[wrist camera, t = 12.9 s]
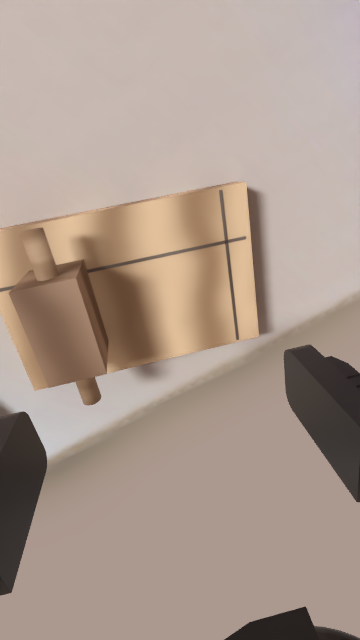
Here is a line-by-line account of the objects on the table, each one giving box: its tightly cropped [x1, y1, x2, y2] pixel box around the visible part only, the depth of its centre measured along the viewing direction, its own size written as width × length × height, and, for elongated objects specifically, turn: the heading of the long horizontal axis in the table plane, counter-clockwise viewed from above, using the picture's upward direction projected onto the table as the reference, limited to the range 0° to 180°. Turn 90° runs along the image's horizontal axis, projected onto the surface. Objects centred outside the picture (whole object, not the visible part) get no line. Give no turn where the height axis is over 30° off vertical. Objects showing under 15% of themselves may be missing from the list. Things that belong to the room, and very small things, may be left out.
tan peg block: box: [9, 228, 109, 405], centre depth 23 cm, size 4×13×5 cm, turn 10°
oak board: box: [0, 182, 259, 390], centre depth 27 cm, size 20×13×3 cm, turn 100°
